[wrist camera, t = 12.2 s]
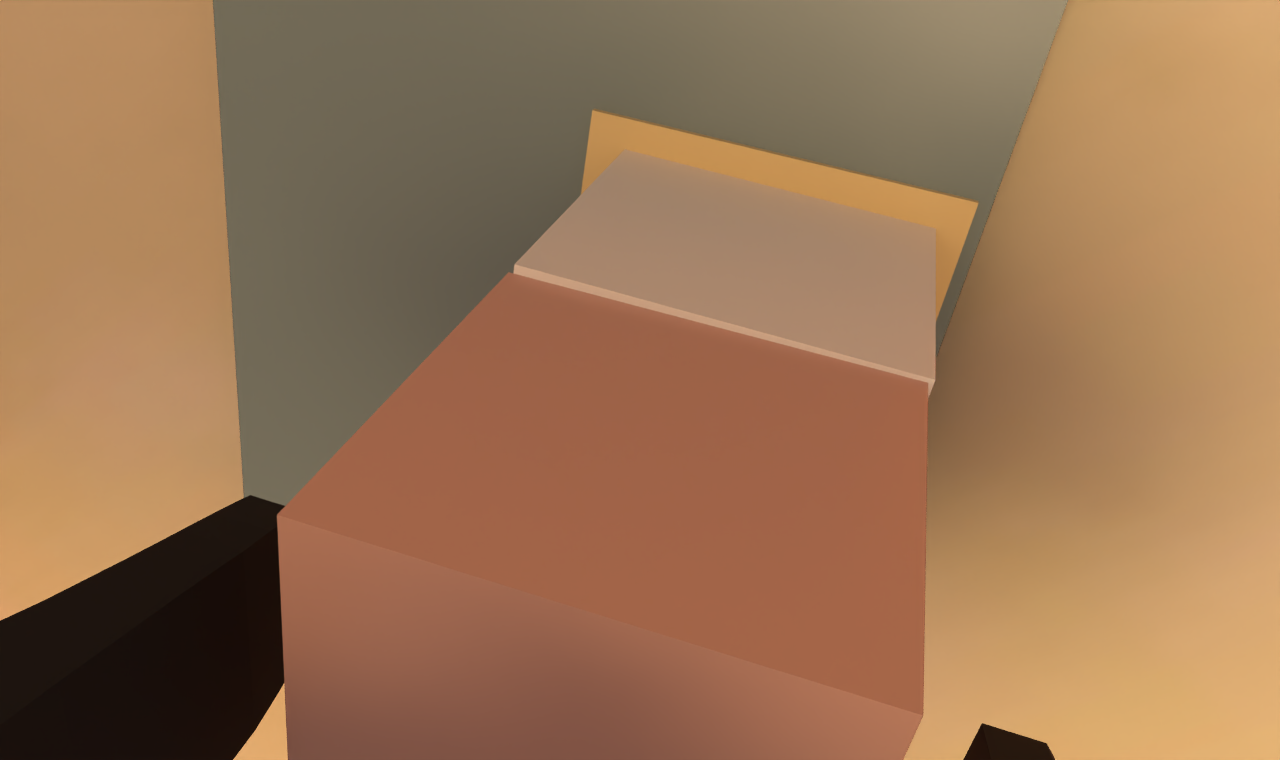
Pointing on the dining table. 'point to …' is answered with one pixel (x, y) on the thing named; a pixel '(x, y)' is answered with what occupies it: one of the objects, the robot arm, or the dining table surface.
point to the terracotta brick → (612, 550)
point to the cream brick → (750, 262)
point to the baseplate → (559, 157)
